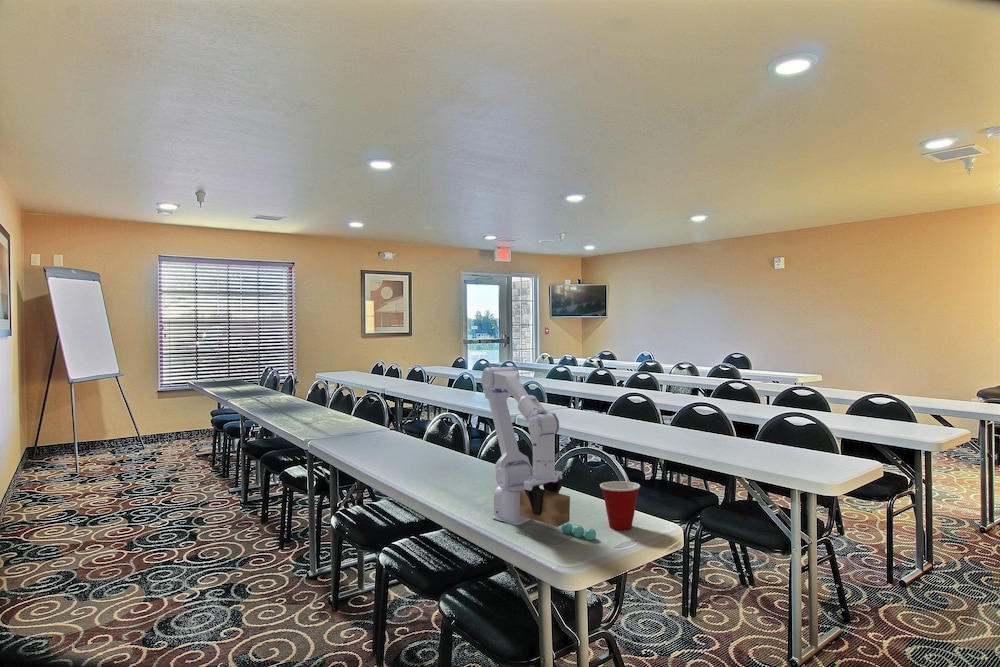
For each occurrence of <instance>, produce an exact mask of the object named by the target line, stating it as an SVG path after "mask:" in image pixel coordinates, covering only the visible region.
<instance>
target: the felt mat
mask: <svg viewBox="0 0 1000 667" xmlns="http://www.w3.org/2000/svg"><path fill="white" fill-rule="evenodd" d="M515 533H516V534H519V535H522V536H525V537H529V538H532V539H536V540H539V541H542V542H546V543H548V544H553V545H556V546H558V545H560V544H561V543H564V542H565V541H567V540H569V539H571V538H573V536H572V535H570V534H565V533H563V532H562V533H561V532H559V531H554V530H550V529H547V528H543V527H540V526H537V525H533V524H531V525H528V526H527V527H524V528H522V529H520V530H518V531H516V532H515Z"/></svg>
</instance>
